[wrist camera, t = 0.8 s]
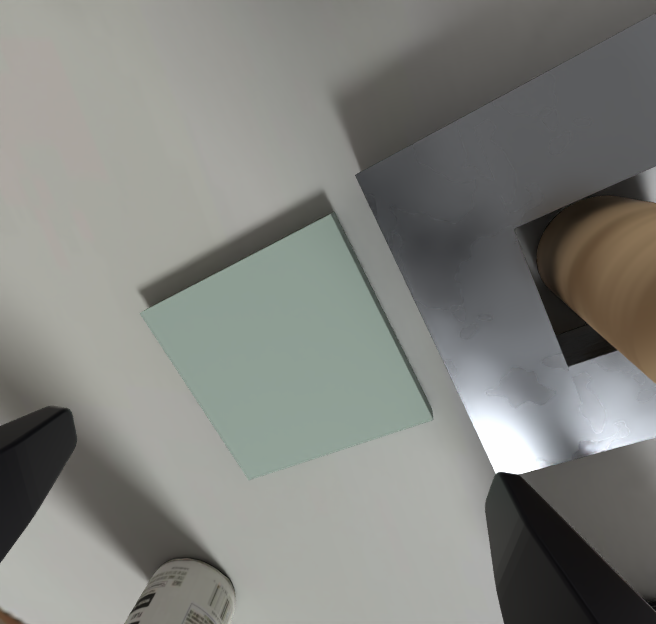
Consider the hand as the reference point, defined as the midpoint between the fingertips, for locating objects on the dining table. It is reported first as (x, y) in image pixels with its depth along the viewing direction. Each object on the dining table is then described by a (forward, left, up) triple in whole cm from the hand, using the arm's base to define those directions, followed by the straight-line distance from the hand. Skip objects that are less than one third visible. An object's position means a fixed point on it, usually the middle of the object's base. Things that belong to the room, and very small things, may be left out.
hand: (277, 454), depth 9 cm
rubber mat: (-3, +5, -14) cm, 15 cm away
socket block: (-4, -11, -14) cm, 18 cm away
